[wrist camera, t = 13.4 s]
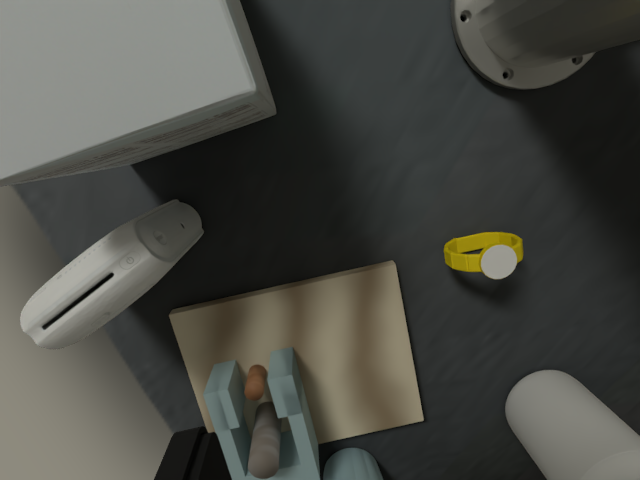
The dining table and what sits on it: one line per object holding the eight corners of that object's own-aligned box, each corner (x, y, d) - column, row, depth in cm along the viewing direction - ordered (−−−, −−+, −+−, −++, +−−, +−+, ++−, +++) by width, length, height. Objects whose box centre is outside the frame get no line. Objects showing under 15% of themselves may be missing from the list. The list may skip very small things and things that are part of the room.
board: (392, 260, 37) (416, 291, 30) (420, 412, 41) (447, 473, 34) (172, 309, 37) (141, 353, 30) (221, 456, 41) (204, 527, 34)
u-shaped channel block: (317, 442, 40) (320, 480, 36) (244, 459, 40) (237, 498, 36) (292, 346, 38) (291, 374, 33) (214, 364, 38) (202, 394, 33)
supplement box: (50, -5, 31) (-248, -172, 14) (218, -67, 31) (119, -315, 14) (128, 167, 34) (-39, 200, 17) (280, 114, 34) (263, 94, 17)
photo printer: (180, 189, 35) (118, 217, 23) (214, 229, 36) (172, 277, 24) (88, 261, 36) (-17, 325, 24) (123, 298, 37) (39, 377, 25)
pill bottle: (495, 436, 42) (598, 594, 28) (510, 365, 40) (629, 494, 26) (571, 439, 43) (710, 595, 28) (589, 368, 41) (748, 497, 26)
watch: (439, 263, 38) (459, 287, 32) (435, 233, 37) (454, 253, 32) (506, 250, 38) (539, 272, 32) (503, 220, 37) (536, 237, 31)
